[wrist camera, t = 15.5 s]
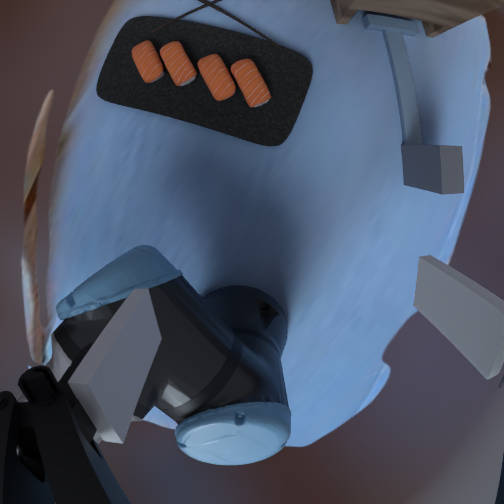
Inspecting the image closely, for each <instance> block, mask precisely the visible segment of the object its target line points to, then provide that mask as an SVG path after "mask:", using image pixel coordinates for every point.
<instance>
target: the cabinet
mask: <svg viewBox="0 0 504 504" xmlns="http://www.w3.org/2000/svg"><path fill="white" fill-rule="evenodd" d="M330 1H331V5H332V8H333V12H334V15H335V19H336V22H337V24H347V23H348V22H349V20H350V19H351V18H352V17H353V16H354V14H355V13H356V12H357V11H358V10H366V11H373V12H380V13H387V14H392V15H398V16H403V17H408V18H412V19H417V20H421V21H422V23H423V26H424V29H425V33H426V36H428V37H432V38H434V37H435V36H437V35H439V34H441V33H443V32H445V31H447V30H449V29H451V28H454V27H456V26H458V25H460V24H462V23H464V22H466V21H468V20H471V19H473V18H475V17H477V16H480V15H482V14H484V13H486V12H489V11H491V10H494V9H496V8H499V7H501V6H503V5H504V0H330Z"/></svg>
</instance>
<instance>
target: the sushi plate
mask: <svg viewBox="0 0 504 504" xmlns="http://www.w3.org/2000/svg"><path fill="white" fill-rule="evenodd" d="M198 1H200V2H202V3H204V4H205V5H202V6H200V7H198V8H196V9H194V10H191V11H189V12H187V13H185V14H183V15H181V16H179V17H177V18H175V19H170V18H162V17H151V16H141V17H135V18H132V19H130V20H129V21H128V22H126V23H125V25H124V26H123V27H122V28H121V30H120V32H119V33H118V35H117V37H116V39H115V41H114V43H113V45H112V47H111V49H110V51H109V53H108V55H107V58H106V60H105V62H104V65H103V67H102V70H101V72H100V75H99V78H98V82H97V89H96V90H97V95H98V96H99V97H100V98H101V99H103V100H105V101H108V102H111V103H115V104H119V105H123V106H127V107H131V108H136V109H140V110H144V111H148V112H152V113H156V114H160V115H164V116H168V117H172V118H175V119H179V120H182V121H186V122H189V123H193V124H196V125H200V126H203V127H206V128H209V129H213V130H216V131H219V132H222V133H225V134H228V135H231V136H234V137H237V138H240V139H243V140H247V141H250V142H253V143H256V144H260V145H265V146H278V145H280V144H282V143H283V142H284V141H285V140H286V139H287V137H288V136H289V134H290V132H291V131H292V129H293V126H294V124H295V122H296V119H297V117H298V115H299V112H300V109H301V107H302V104H303V102H304V99H305V97H306V94H307V91H308V88H309V85H310V82H311V78H312V72H313V70H312V64H311V63H310V61H309V60H308V59H307V58H305V57H304V56H302V55H301V54H299V53H297V52H295V51H293V50H290V49H288V48H285V47H283V46H280V45H278V44H276V43H275V42H274V41H272V40H271V39H269V38H268V37H266V36H265V35H263V34H262V33H260V32H259V31H257V30H256V29H254V28H252V27H251V26H249V25H248V24H246V23H244V22H243V21H241V20H240V19H238V18H236V17H234V16H233V15H231V14H229V13H228V12H226V11H224V10H222V9H221V8H219V7H217V6H215V5H213V4H214V3H216V2H219V1H221V0H214V1H212V2H208V1H206V0H198ZM206 6H210V7H212V8H214V9H216V10H218V11H220V12H222V13H224V14H225V15H227V16H229V17H231V18H232V19H234V20H236V21H238V22H239V23H241V24H243V25H244V26H246V27H248V28H249V29H251V30H252V31H254V32H256V33H257V34H259V35H260V36H262V37H263V38H265V39H266V40H268V41H269V42H268V41H265V40H262V39H259V38H255V37H252V36H249V35H245V34H242V33H238V32H234V31H230V30H226V29H222V28H218V27H213V26H209V25H204V24H199V23H194V22H188V21H183V20H178V19H180V18H182V17H184V16H186V15H188V14H191V13H193V12H195V11H197V10H199V9H202V8H204V7H206Z"/></svg>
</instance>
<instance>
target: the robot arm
mask: <svg viewBox="0 0 504 504" xmlns="http://www.w3.org/2000/svg"><path fill="white" fill-rule="evenodd" d="M182 274H183V273H182V272H181V271H180V270H177V269H176V268H175V267H174V266H173V265H172V264H171V263H170V262H169V261H168V260H167V259H166V258H165V257H164V256H163V255H162V254H161V253H160V252H159V251H158V250H157V249H156V248H154V247H152V246H149V245H141V246H137V247H135V248H133V249H131V250H129V251H128V252H126V253H124V254H123V255H121V256H120V257H118V258H116V259H115V260H113V261H112V262H111V263H109V264H108V265H106V266H105V267H103V268H102V269H100V270H99V271H98V272H96V273H95V274H94V275H92V276H91V277H90V278H88V279H87V280H86V281H84V282H83V283H82V284H80V285H79V286H78V287H77V288H76V289H74V291H73V292H71V293H70V294H69V295H68V296H67V297H65V298H64V299H62V300H61V301H60V302H59V303H58V304H57V306H56V311H57V313H58V317H59V318H60V319H61V320H63V322H62V323H61V324H60V325H59V326H58V327H57V328H56V330H55V331H54V332H53V333H52V334H51V340H52V357H51V359H50V360H49V362H48V363H47V364H46V365H45V366H36V367H33V368H31V369H29V370H27V371H26V372H25V373H23V374H22V375H21V377H20V378H19V381H18V386H19V387H20V389H21V391H22V393H21V395H20V396H19V397H18V399H17V400H16V398H15V397H14V395H13V394H12V393H11V392H9V391H2V392H0V504H55V503H56V504H131V503H130V501H129V499H128V498H127V496H126V495H125V493H124V492H123V490H122V489H121V487H120V485H119V483H118V482H117V480H116V478H115V476H114V475H113V473H112V472H111V469H110V468H109V466H108V464H107V462H106V460H105V458H104V456H103V455H102V452H101V451H100V448H99V447H98V444H99V442H100V441H101V440H102V439H103V440H104V441H109V442H116V443H123V442H124V439H125V436H126V433H127V431H128V427H129V424H130V422H131V421H140V420H142V419H143V418H144V417H145V416H146V415H147V413H148V412H149V411H150V410H151V409H152V408H153V407H154V406H156V407H157V408H158V409H160V410H161V411H162V412H164V413H165V414H166V415H168V416H169V417H170V418H172V419H173V420H174V421H176V423H177V424H178V426H177V427H176V430H175V435H176V439H177V444H178V446H179V447H180V449H181V450H182V451H183V452H184V453H186V454H187V455H189V456H191V457H192V458H194V459H197V460H200V461H203V462H206V463H211V464H219V465H240V464H247V463H253V462H257V461H260V460H263V459H265V458H268V457H270V456H272V455H274V454H275V453H277V452H278V451H280V450H281V449H282V448H283V447H284V446H285V444H286V443H287V440H288V439H289V437H290V434H291V411H290V409H289V406H288V400H287V394H286V388H285V382H284V376H283V370H282V364H281V356H282V353H283V350H284V347H285V345H286V341H287V324H286V320H285V316H284V313H283V311H282V309H281V307H280V306H279V305H278V303H277V302H276V301H275V300H274V299H273V298H271V297H270V296H269V295H267V294H266V293H264V292H262V291H260V290H257V289H254V288H250V287H245V286H230V287H225V288H221V289H218V290H216V291H214V292H212V293H210V294H208V295H207V296H206V297H204V298H202V297H201V296H200V295H199V294H198V293H197V292H196V291H195V289H194V288H193V287H192V286H191V285H190V284H189V283H188V281H187V280H186V279H185V278H184V277H183V276H182ZM413 306H414V307H415V308H416V309H417V310H418V311H420V312H421V313H422V314H423V315H424V316H425V317H426V318H427V319H428V320H429V321H430V322H431V323H432V324H433V325H434V326H435V327H436V328H437V329H438V330H439V331H440V332H441V333H443V335H444V336H445V337H446V338H447V339H448V340H449V341H450V342H451V343H453V345H454V346H455V347H457V349H458V350H459V351H460V352H461V353H462V354H463V355H464V356H465V357H466V358H467V359H468V360H469V361H470V362H471V363H472V364H473V365H474V366H475V367H476V368H477V370H478V371H479V372H480V373H481V374H482V375H483V376H484V377H485V378H486V379H487V380H488V379H490V378H491V377H493V376H495V375H497V374H499V372H500V370H501V367H502V365H503V362H504V301H503V300H502V299H500V298H498V297H497V296H495V295H494V294H493V293H491V292H489V291H488V290H487V289H485V288H483V287H482V286H480V285H479V284H477V283H475V282H474V281H473V280H471V279H469V278H468V277H466V276H465V275H463V274H461V273H460V272H458V271H456V270H455V269H453V268H451V267H450V266H448V265H446V264H445V263H443V262H441V261H440V260H438V259H436V258H435V257H433V256H431V255H428V256H422V257H419V263H418V273H417V282H416V291H415V298H414V305H413ZM503 383H504V376H503V378H502V380H501V382H500V385H499V388H501V387H502V385H503ZM495 504H504V455H503V462H502V470H501V476H500V482H499V487H498V492H497V497H496V501H495Z"/></svg>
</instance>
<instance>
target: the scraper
mask: <svg viewBox="0 0 504 504" xmlns="http://www.w3.org/2000/svg"><path fill="white" fill-rule="evenodd" d="M362 19H363V23H364V26H365V29H370V30H378V31H382V32H383V35H384V39H385V43H386V47H387V51H388V55H389V59H390V63H391V68H392V73H393V77H394V83H395V88H396V93H397V99H398V105H399V112H400V119H401V126H402V134H403V143H404V145H401V151H402V162H403V176H404V185H407V186H411V187H415V188H419V189H423V190H427V191H431V192H435V193H439V194H455V193H464V174H463V155H462V146H446V145H423V143H422V134H421V125H420V118H419V111H418V104H417V98H416V93H415V87H414V82H413V77H412V72H411V68H410V63H409V59H408V55H407V51H406V47H405V43H404V40H403V36H402V34H404V35H410V36H415V35H416V34H418V33H419V30H418V27H417V23H416V22H412V21H408V20H403V19H397V18H392V17H386V16H380V15H373V14H366V15H365V16H364V17H363V18H362Z"/></svg>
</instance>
